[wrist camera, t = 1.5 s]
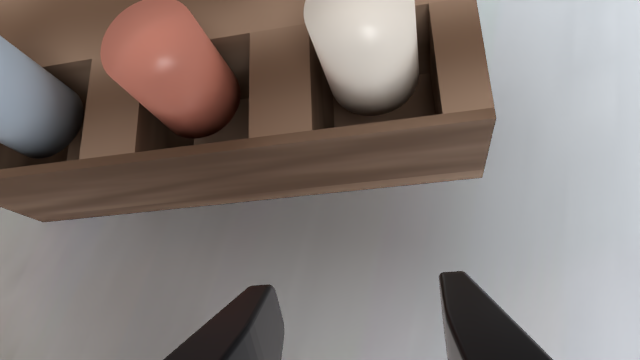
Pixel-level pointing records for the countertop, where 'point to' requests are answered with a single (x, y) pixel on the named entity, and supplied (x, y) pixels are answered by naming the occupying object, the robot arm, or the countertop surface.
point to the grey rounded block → (35, 106)
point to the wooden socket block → (246, 115)
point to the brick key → (171, 67)
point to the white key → (366, 51)
